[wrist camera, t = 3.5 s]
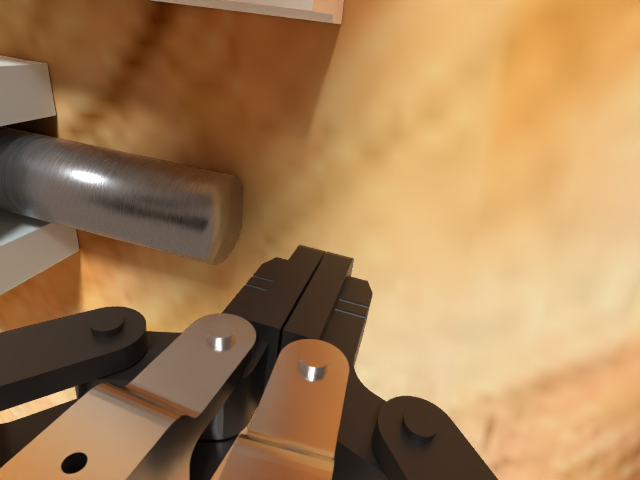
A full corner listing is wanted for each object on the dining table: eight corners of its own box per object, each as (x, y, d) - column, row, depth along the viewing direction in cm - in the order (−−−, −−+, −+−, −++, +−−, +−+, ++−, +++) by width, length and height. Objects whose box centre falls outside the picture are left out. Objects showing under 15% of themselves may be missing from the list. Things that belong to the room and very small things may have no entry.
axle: (245, 163, 15) (199, 193, 13) (244, 240, 17) (202, 281, 14) (-88, 95, 19) (-182, 107, 16) (-64, 165, 20) (-147, 187, 17)
